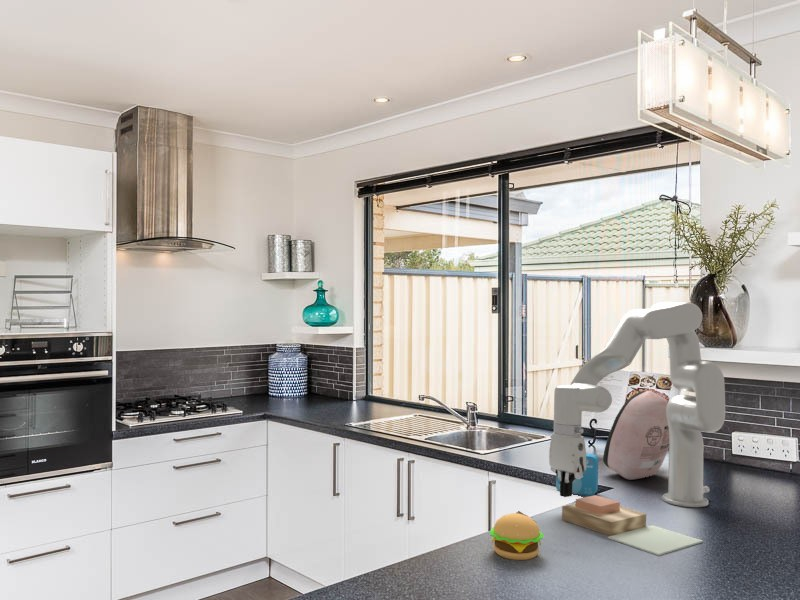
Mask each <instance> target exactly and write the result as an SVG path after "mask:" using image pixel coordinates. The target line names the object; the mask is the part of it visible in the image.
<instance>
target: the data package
mask: <svg viewBox="0 0 800 600" xmlns="http://www.w3.org/2000/svg"><path fill="white" fill-rule="evenodd" d="M570 475H571V474H570ZM555 477H556V478H555V488H556V490H557V491H558V492H559V493H560V481H559V480H558V476H557V474H556V473H555ZM598 488H599V457H598V455H596V454H594V453H587V452H586V471H584V472H583V477H582V478H576V479H575V481H574V482H572V495H580V496H585V497H589V496H594V495H596V493H597V492H598Z"/></svg>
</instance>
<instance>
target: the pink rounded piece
mask: <svg viewBox="0 0 800 600" xmlns="http://www.w3.org/2000/svg"><path fill="white" fill-rule="evenodd" d="M667 404H668V401H667V400H666V399H665V398H664V397H662V396H661V395H660V394H658V393H656V392H653V391H651V390H641V391H639V392H636V393H635V394H633V395H631V396H630V397H629V398H628V399H627V400H626V401H625V402H624V404H623V405H622V407H621V409H619V411H618V413H617V414H616V416H615V418H614V420H613V423H612V425H611V427H610V431H609V433H608V436H607V440H606V442H605V446H604V449H603V450H604V451H603V456H602V461H603V463H604V465H605V466H606V467H608V468H609V469H610V470H611V471H613V472H615V473H616V474H618V475H619V476H621V477H622V478H624V479H625V480H630V481H631V480H633V481H634V480H638V479H644V478H645V477H646V478H650V477H652V476H654V475H655V474H656V473H657V472H658V471H659V470H660V468H661V467H662V465H663V463H664V461H665V458H666V456H667V454H668V452H669V427H668V422H667V416H666V407H667ZM649 476H650V477H649ZM646 478H645V479H646Z"/></svg>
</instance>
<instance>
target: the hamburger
mask: <svg viewBox="0 0 800 600" xmlns="http://www.w3.org/2000/svg"><path fill="white" fill-rule="evenodd" d="M525 515H526V514H525ZM525 515H522V514H517V513H516V512H515V513H508V514H505V515H502V516H501V517H499V518H498V519H497V520H496V521H495V523H494V526H493V527H492V528H491V530H490V531H489V534H490V536H492V537H491V539H490V541H491V544H493V550H494V551H495V553H496V554H497V555H499V556H500V557H502V558H504V559H505V558H506V559H510V560H518V561H526V560H531V559H533V558H535V557H536V556H538V554H539V552H540V549H539V546H541V545H542V542H541V540H543V538H544V533H542V532H541V531H540V527H539V526H538V522H537V521H536V520H534V519H533V518H531V517H530V516H529V517H528V515H527V516H525ZM532 519H533V520H532ZM535 521H536V522H537V523H536V522H535Z"/></svg>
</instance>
